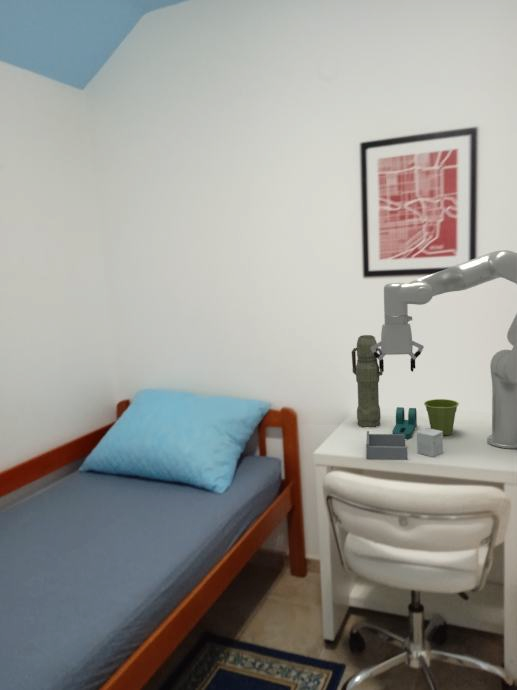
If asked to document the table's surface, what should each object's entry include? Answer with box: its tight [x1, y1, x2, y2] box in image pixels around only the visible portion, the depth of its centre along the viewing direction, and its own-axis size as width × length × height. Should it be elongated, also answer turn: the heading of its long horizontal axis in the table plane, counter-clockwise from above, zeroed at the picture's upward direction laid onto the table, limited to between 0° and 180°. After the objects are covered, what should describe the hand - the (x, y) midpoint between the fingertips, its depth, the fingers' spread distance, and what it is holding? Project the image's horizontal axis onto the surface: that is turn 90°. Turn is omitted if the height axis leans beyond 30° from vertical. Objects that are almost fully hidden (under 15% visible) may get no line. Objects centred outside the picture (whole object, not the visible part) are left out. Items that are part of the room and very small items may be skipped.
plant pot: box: [423, 398, 460, 437], centre depth 196 cm, size 12×12×11 cm
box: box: [365, 430, 409, 461], centre depth 180 cm, size 13×14×5 cm
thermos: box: [351, 334, 384, 428], centre depth 209 cm, size 9×12×35 cm
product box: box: [416, 427, 444, 458], centre depth 177 cm, size 6×6×7 cm
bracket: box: [391, 406, 418, 440], centre depth 200 cm, size 18×7×8 cm, turn 157°
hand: (397, 370), depth 182 cm, fingers open, 9 cm apart
